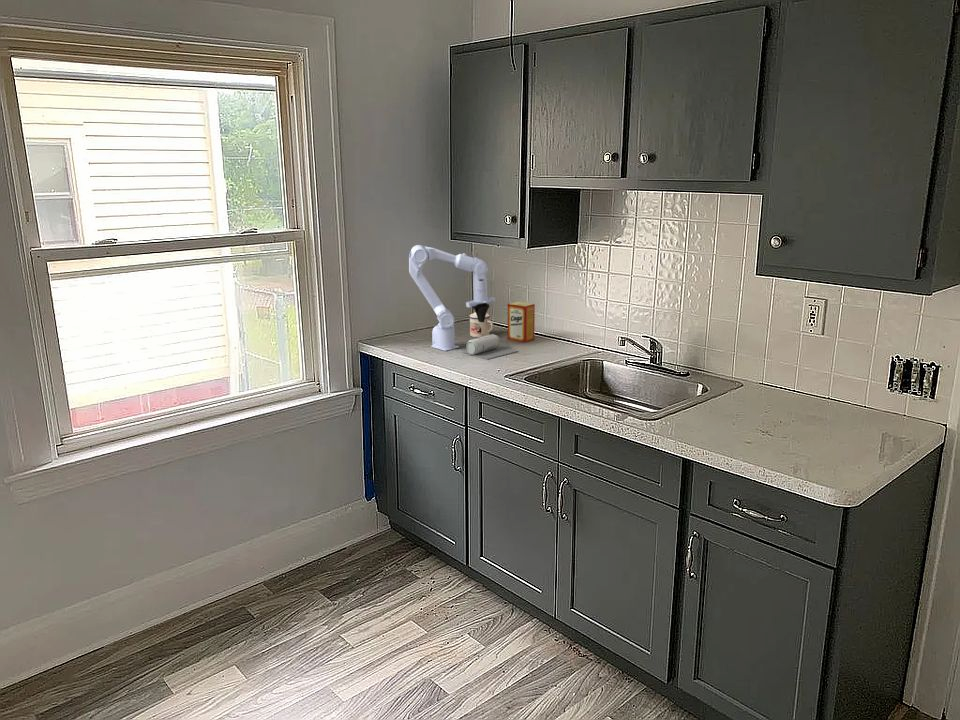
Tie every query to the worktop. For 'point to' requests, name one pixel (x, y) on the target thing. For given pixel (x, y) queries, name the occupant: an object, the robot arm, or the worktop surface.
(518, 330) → the baking soda box
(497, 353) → the mat
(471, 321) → the teacup with lid
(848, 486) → the worktop surface
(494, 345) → the energy drink can
